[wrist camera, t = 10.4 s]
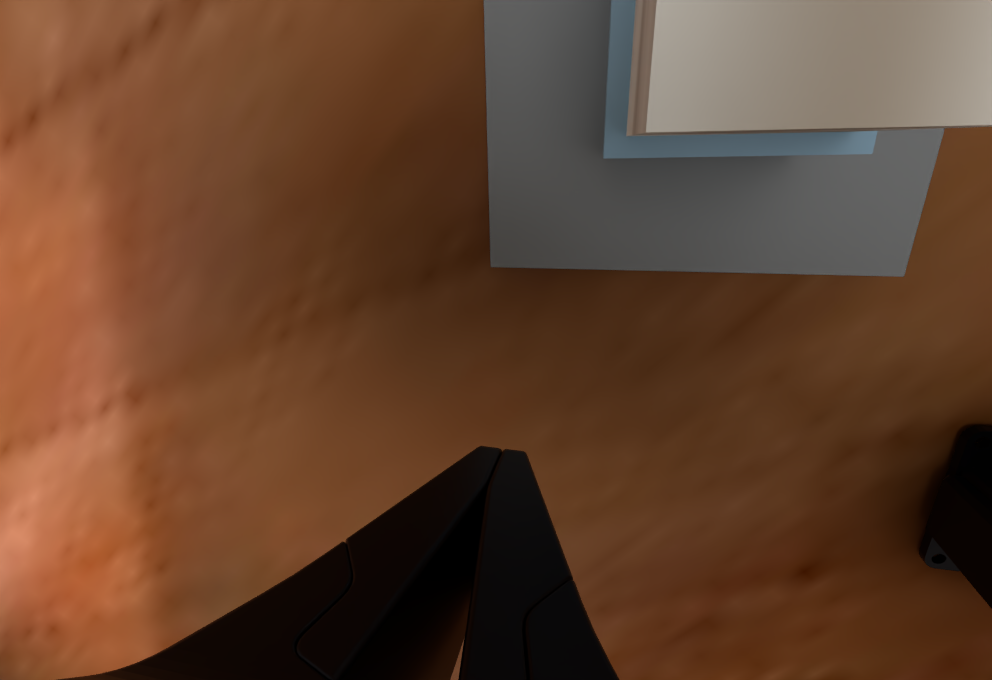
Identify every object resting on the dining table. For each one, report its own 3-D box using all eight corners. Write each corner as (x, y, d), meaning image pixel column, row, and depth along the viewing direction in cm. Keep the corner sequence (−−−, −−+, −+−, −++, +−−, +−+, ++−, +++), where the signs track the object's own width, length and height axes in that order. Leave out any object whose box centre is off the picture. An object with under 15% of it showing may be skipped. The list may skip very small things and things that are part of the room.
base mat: (1032, -281, 13) (1066, -313, 12) (888, 269, 18) (904, 276, 17) (485, -199, 15) (477, -220, 14) (495, 261, 20) (490, 267, 19)
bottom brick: (837, -83, 14) (952, -192, 9) (795, 150, 16) (872, 154, 12) (614, -62, 15) (619, -149, 10) (602, 153, 17) (603, 158, 13)
